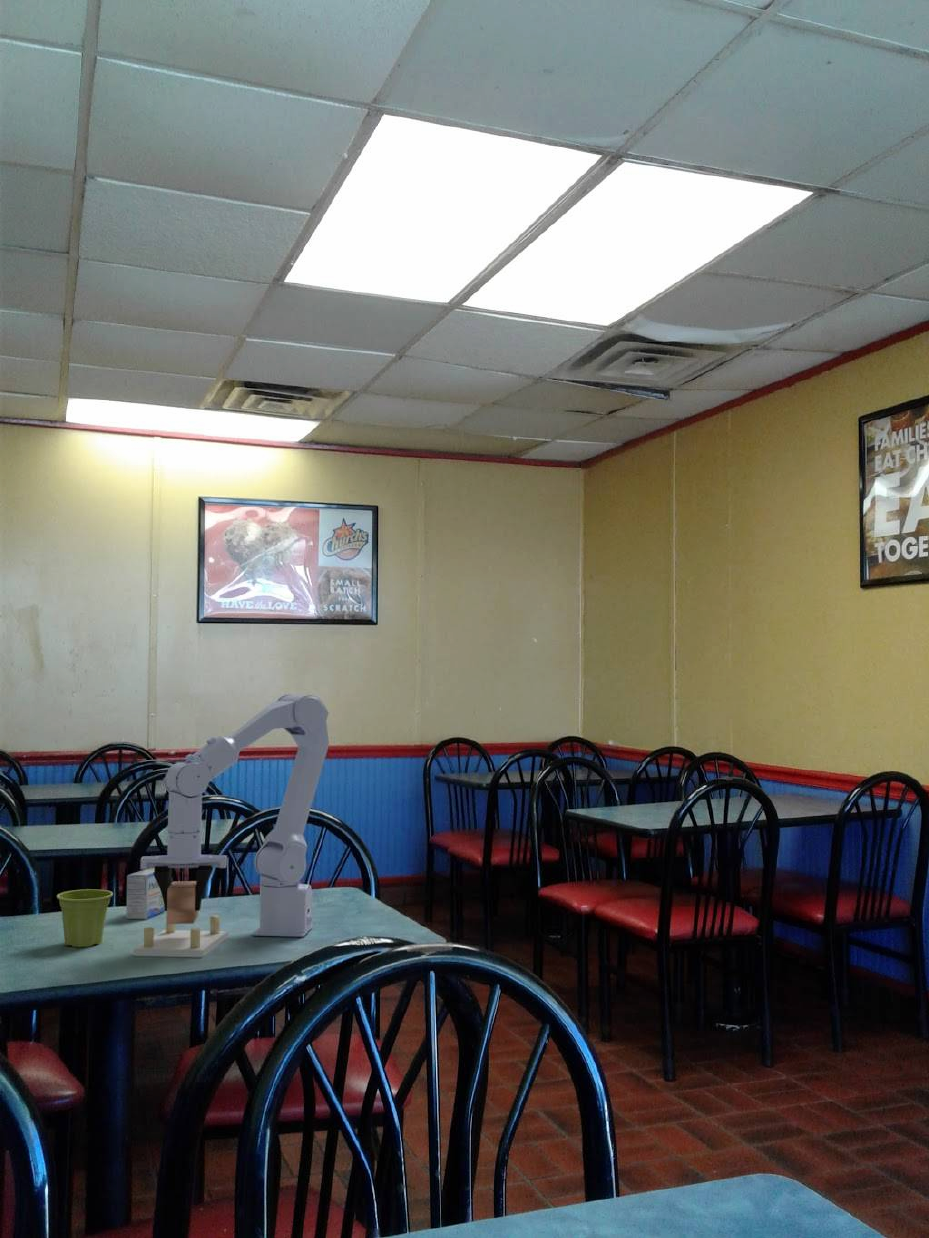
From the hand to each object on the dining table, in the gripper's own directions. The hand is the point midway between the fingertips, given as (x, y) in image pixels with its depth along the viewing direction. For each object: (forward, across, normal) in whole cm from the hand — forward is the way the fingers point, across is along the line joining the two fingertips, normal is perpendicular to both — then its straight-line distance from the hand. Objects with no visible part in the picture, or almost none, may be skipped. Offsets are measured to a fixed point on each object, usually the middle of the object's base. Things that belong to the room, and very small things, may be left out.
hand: (182, 909), depth 188 cm
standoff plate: (+6, 0, 0) cm, 6 cm away
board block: (+2, 0, 0) cm, 2 cm away
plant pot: (+7, +18, -4) cm, 19 cm away
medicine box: (+7, +11, -27) cm, 30 cm away
